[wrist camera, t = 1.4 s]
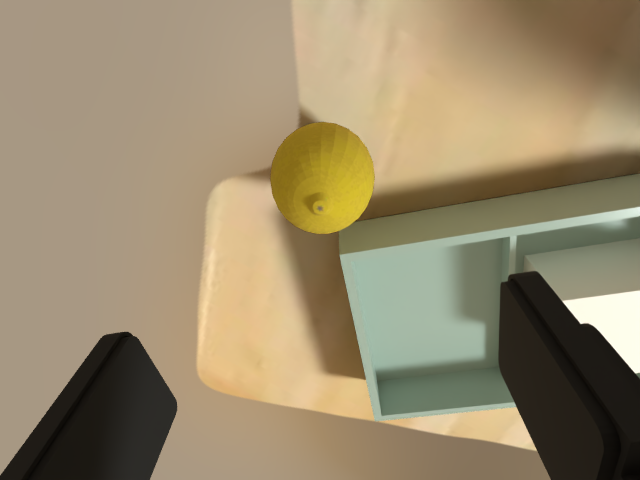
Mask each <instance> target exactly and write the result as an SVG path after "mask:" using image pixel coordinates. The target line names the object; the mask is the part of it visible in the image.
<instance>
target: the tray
mask: <svg viewBox="0 0 640 480" xmlns="http://www.w3.org/2000/svg"><path fill="white" fill-rule="evenodd" d="M637 238H640V173H638V174H632V175H627V176H621V177H615V178H609V179H603V180H597V181H591V182H586V183H580V184H574V185H568V186H562V187H556V188H550V189H545V190H539V191H533V192H527V193H521V194H515V195H509V196H503V197H498V198H492V199H486V200H480V201H474V202H468V203H462V204H457V205H451V206H445V207H439V208H433V209H427V210H421V211H416V212H410V213H404V214H398V215H392V216H386V217H380V218H374V219H369V220H363V221H357V222H353V223H352V224H351V225H349V226H348V227H346V228H344V229H342V230H340V231H339V256H340V260H341V265H342V270H343V274H344V279H345V284H346V288H347V293H348V298H349V302H350V307H351V312H352V316H353V321H354V326H355V330H356V335H357V340H358V344H359V349H360V354H361V358H362V363H363V368H364V372H365V377H366V381H367V386H368V391H369V395H370V400H371V405H372V409H373V414H374V419H375V421H384V420H394V419H404V418H413V417H423V416H433V415H443V414H453V413H463V412H472V411H482V410H492V409H502V408H512V407H516V405H515V402H514V400H513V398H512V396H511V394H510V392H509V390H508V388H507V385H506V383H505V381H504V379H503V377H502V375H501V372H500V368H499V363H498V352H499V315H500V285H501V282H505V281H508V276H509V275H510V274H516V273H523V269H524V255H531V254H537V253H544V252H551V251H557V250H564V249H571V248H577V247H584V246H591V245H597V244H604V243H611V242H617V241H624V240H630V239H637ZM635 374H636V375H637V376H638V377H639V378H640V373H635Z"/></svg>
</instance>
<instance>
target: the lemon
mask: <svg viewBox="0 0 640 480" xmlns="http://www.w3.org/2000/svg"><path fill="white" fill-rule="evenodd" d="M374 178H375V176H374V168H373V161H372V159H371V157H370V154H369V152H368V150H367V147H366V146H365V145H364V144H363V142H362V141H361V140H360V138H359V137H358V136H357V135H355V134H354V133H353V132H351V131H350V130H349V129H347V128H345V127H342V126H340V125H337V124H334V123H327V122H319V123H311V124H308V125H306V126H303V127H301V128H299V129H297V130H296V131H294V132H293V133H292V134H290V135H289V136H288V137H287V138H286V139H285V140H284V141H283V143H282V144H281V146H280V147H279V148H278V150H277V152H276V155H275V157H274V160H273V162H272V168H271V176H270V181H271V188H272V194H273V197H274V200H275V202H276V204H277V207H278V209H279V210H280V211H281V213H282V214H283V215H284V217H285V218H286V219H287V220H288V221H289V222H291V223H292V224H293V225H294V226H296V227H298V228H300V229H302V230H304V231H307V232H311V233H316V234H328V233H333V232H337V231H340V230H342V229H344V228H346V227H348V226H349V225H351V224H352V223H353V222H354V221H356V220H357V219H358V218H359V217H360V216H361V214H362V213H363V212H364V210H365V209H366V207H367V205H368V203H369V200H370V198H371V195H372V192H373V186H374Z"/></svg>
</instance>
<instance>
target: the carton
mask: <svg viewBox="0 0 640 480" xmlns="http://www.w3.org/2000/svg"><path fill="white" fill-rule="evenodd" d="M530 271H537V272H539V273H540V274H541V276H542V277H543V278H544V279H545V281H546V282H547V283H548V284H549V286H550V287H551V288H552V289H553V290H554V292H555V293H556V294H557V295H558V297H559V298H560V299H561V300H562V302H563V303H564V304H565V305H566V306H567V308H568V309H569V310H570V311H571V313H572V314H573V315H574V316H575V318H576V319H577V320H578V321H579V322H580V324H583V323H589V324H591V325H593V326H594V327H595V328H596V329H597V330H598V331H600V333H601V334H602V335H603V336H604V337H605V339H606V340H607V341H608V342H609V343H610V344H611V346H612V347H613V348H614V349H615V350H616V351H617V353H618V354H619V355H620V356H621V357H622V358H623V360H624V361H625V362H626V363H627V364H628V365H629V367H630V368H631V369H632V370H633V371H634V373H640V238H637V239H630V240H624V241H617V242H611V243H604V244H597V245H591V246H584V247H577V248H571V249H564V250H557V251H551V252H544V253H537V254H531V255H524V269H523V272H530Z"/></svg>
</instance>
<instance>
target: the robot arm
mask: <svg viewBox="0 0 640 480" xmlns="http://www.w3.org/2000/svg"><path fill="white" fill-rule="evenodd" d="M498 363H499V368H500V372H501V375H502V377H503V379H504V381H505V383H506V385H507V388H508V390H509V392H510V394H511V396H512V398H513V400H514V402H515V405H516V407H517V409H518V411H519V413H520V415H521V417H522V419H523V421H524V424H525V426H526V428H527V430H528V432H529V434H530V436H531V438H532V440H533V443H534V445H535V447H536V449H537V451H538V453H539V455H540V457H541V460H542V462H543V464H544V466H545V468H546V470H547V472H548V474H549V476H550V478H551V480H640V378H639V377H638V376H637V375H636V374H635V373H634V371H633V370H632V369H631V368H630V367H629V365H628V364H627V363H626V362H625V361H624V360H623V358H622V357H621V356H620V355H619V354H618V353H617V351H616V350H615V349H614V348H613V347H612V346H611V344H610V343H609V342H608V341H607V340H606V339H605V337H604V336H603V335H602V334H601V333H600V331H598V330H597V329H596V328H595V327H594V326H593V325H591V324H589V323H583V324H580V322H579V321H578V320H577V319H576V318H575V316H574V315H573V314H572V313H571V311H570V310H569V309H568V308H567V306H566V305H565V304H564V303H563V302H562V300H561V299H560V298H559V297H558V295H557V294H556V293H555V292H554V290H553V289H552V288H551V287H550V286H549V284H548V283H547V282H546V281H545V279H544V278H543V277H542V276H541V274H540V273H539V272H537V271H530V272H523V273H516V274H510V275H509V276H508V281H505V282H501V285H500V315H499V352H498ZM176 412H177V402H176V399H175V397H174V396H173V394H172V392H171V391H170V389H169V387H168V386H167V384H166V383H165V381H164V379H163V378H162V376H161V375H160V373H159V371H158V370H157V368H156V367H155V365H154V363H153V362H152V360H151V359H150V357H149V355H148V354H147V352H146V350H145V349H144V347H143V346H142V344H141V342H140V341H139V339H138V338H137V337H135V336H133V335H132V334H131V333H129V332H120V333H114V334H107V335H104V336H103V337H102V338H101V339H100V340H99V341H98V343H97V344H96V346H95V347H94V348H93V350H92V351H91V352H90V354H89V355H88V356H87V358H86V359H85V361H84V362H83V363H82V365H81V366H80V367H79V369H78V370H77V372H76V373H75V374H74V376H73V377H72V378H71V380H70V381H69V382H68V384H67V385H66V387H65V388H64V389H63V391H62V392H61V393H60V395H59V396H58V398H57V399H56V400H55V402H54V403H53V404H52V406H51V407H50V408H49V410H48V411H47V412H46V414H45V415H44V417H43V418H42V419H41V421H40V422H39V424H38V425H37V426H36V428H35V429H34V430H33V432H32V433H31V434H30V436H29V437H28V439H27V440H26V441H25V443H24V444H23V445H22V447H21V448H20V449H19V451H18V452H17V454H16V455H15V456H14V458H13V459H12V460H11V462H10V463H9V464H8V466H7V467H6V469H5V470H4V471H3V473H2V474H1V475H0V480H150V477H151V475H152V473H153V470H154V467H155V465H156V463H157V460H158V458H159V455H160V452H161V450H162V447H163V445H164V442H165V440H166V438H167V435H168V433H169V430H170V428H171V425H172V422H173V420H174V418H175V415H176Z"/></svg>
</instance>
